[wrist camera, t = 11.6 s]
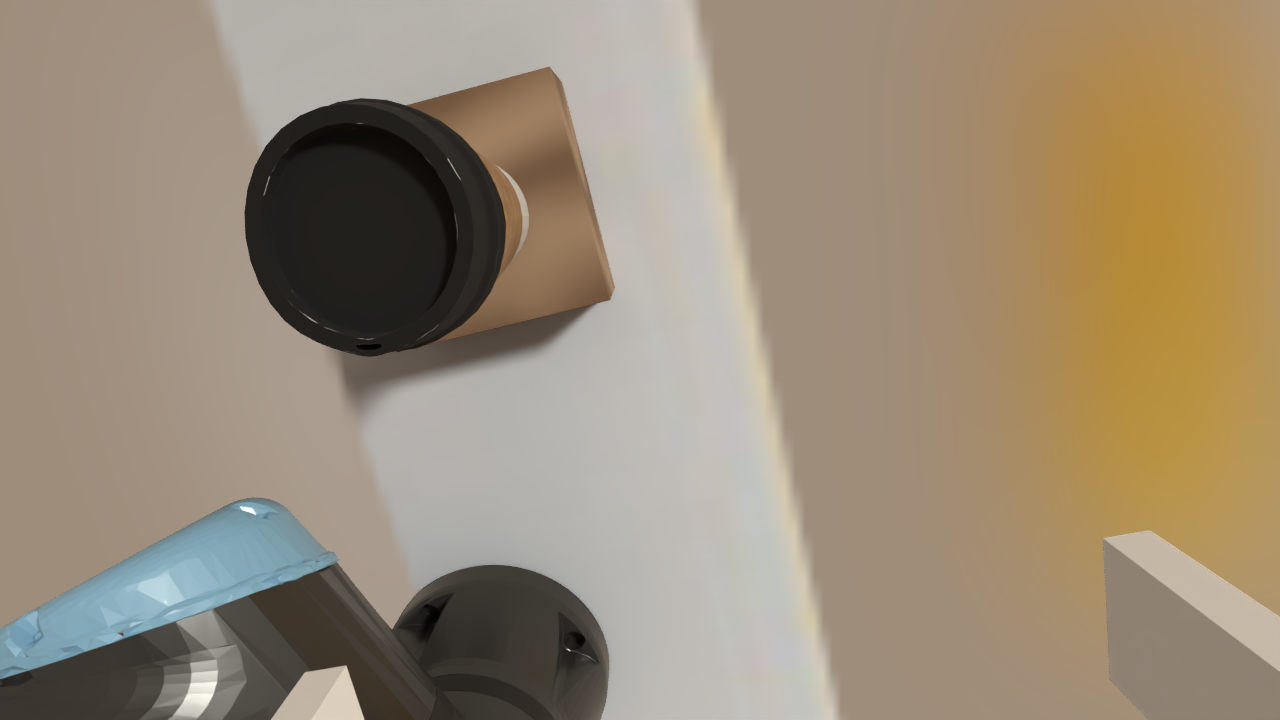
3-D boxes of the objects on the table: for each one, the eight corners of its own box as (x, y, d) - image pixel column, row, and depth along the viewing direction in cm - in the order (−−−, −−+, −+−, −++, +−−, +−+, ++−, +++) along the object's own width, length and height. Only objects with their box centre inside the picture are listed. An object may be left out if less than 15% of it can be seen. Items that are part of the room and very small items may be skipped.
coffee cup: (402, 301, 37) (244, 369, 23) (382, 136, 35) (196, 95, 21) (558, 295, 37) (499, 360, 23) (547, 128, 35) (475, 83, 21)
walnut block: (614, 287, 42) (609, 300, 37) (425, 334, 43) (397, 352, 38) (561, 82, 39) (549, 66, 35) (361, 136, 40) (322, 128, 35)
